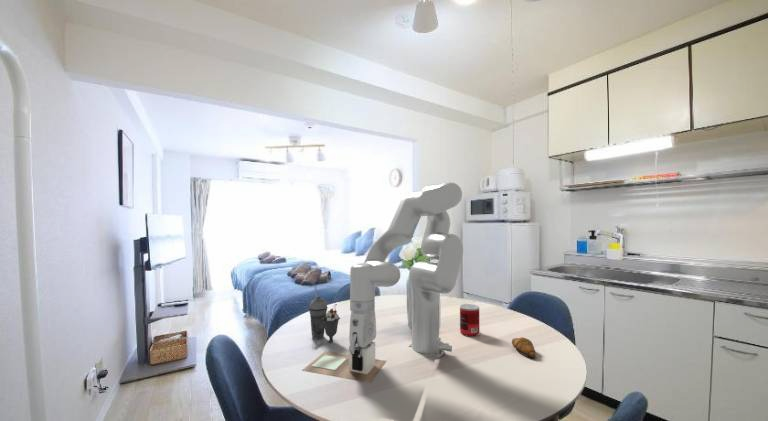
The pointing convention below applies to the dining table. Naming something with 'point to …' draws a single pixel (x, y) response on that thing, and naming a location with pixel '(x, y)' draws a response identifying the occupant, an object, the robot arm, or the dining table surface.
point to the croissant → (524, 346)
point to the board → (341, 367)
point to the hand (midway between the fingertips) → (362, 364)
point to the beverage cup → (317, 316)
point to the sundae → (331, 323)
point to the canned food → (469, 319)
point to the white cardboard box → (365, 358)
